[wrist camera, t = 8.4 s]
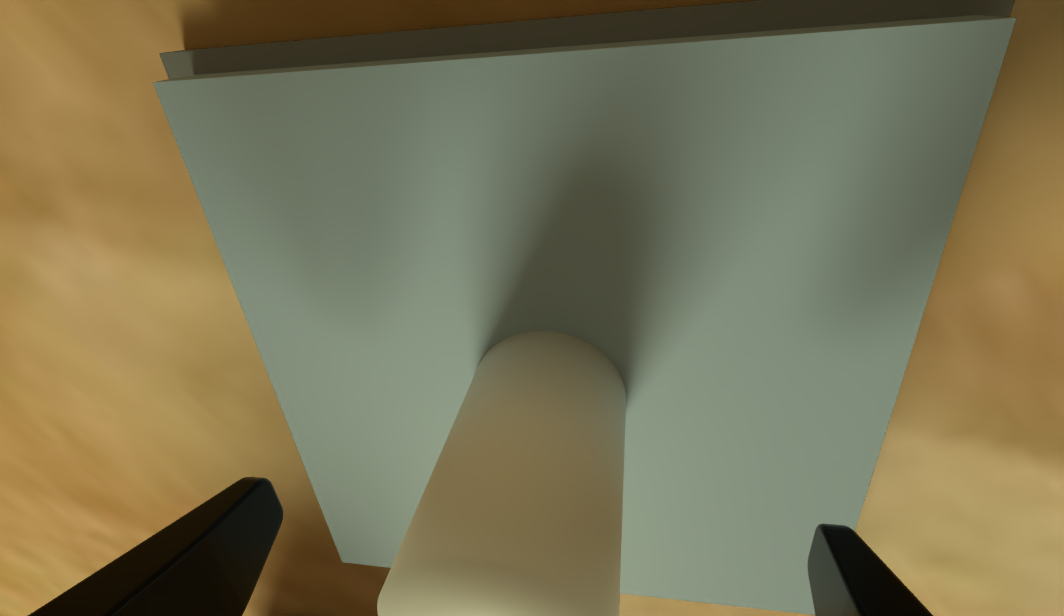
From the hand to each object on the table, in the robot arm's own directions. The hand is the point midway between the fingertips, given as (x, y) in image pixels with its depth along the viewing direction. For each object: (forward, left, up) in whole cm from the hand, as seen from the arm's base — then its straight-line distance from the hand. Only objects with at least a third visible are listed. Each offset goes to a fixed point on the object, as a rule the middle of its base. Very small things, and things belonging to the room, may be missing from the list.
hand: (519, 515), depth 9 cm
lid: (0, 0, -4) cm, 4 cm away
